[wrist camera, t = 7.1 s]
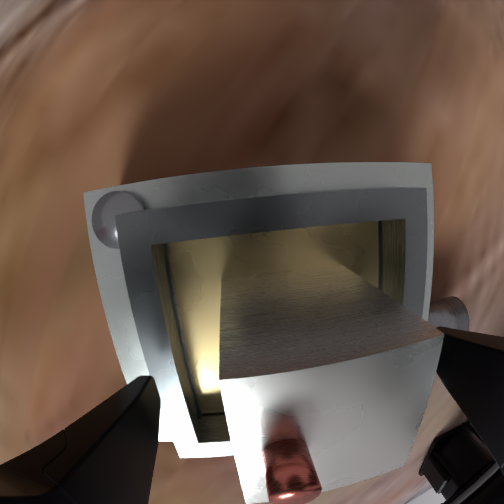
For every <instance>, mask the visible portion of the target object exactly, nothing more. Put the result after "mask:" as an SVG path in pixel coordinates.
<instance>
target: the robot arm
mask: <svg viewBox="0 0 504 504" xmlns="http://www.w3.org/2000/svg"><path fill="white" fill-rule="evenodd" d="M436 328H437V329H438V330H440V331H441V332H442V333H444V338H443V343H442V348H441V353H440V357H439V362H438V366H437V370H436V372H437V374H438V376H439V377H440V379H441V381H442V382H443V384H444V386H445V387H446V389H447V390H448V392H449V393H450V394H451V396H452V397H453V398H454V400H455V401H456V403H457V404H458V405H459V407H460V408H461V410H462V411H463V413H464V414H465V415H466V417H467V418H468V420H469V421H468V422H466V423H465V424H463V425H461V426H459V427H457V428H456V429H454V430H452V431H450V432H448V433H446V434H444V435H442V436H440V437H438V438H436V439H435V440H434V441H433V443H432V445H431V448H430V450H429V452H428V454H427V457H426V459H425V461H424V463H423V465H422V467H421V469H420V471H419V475H420V476H422V475H425V476H426V478H427V479H428V481H429V482H430V484H431V485H432V487H433V488H434V490H435V491H436V493H438V494H439V493H442V495H443V496H444V498H445V499H446V501H445V502H444V503H441V504H504V337H500V336H494V335H487V334H482V333H476V332H470V331H464V330H459V329H453V328H448V327H442V326H439V327H436ZM160 410H161V398H160V395H159V392H158V388H157V385H156V382H155V379H154V377H153V376H151V375H141V376H138V377H137V378H136V379H134V380H133V381H131V382H130V383H129V384H127V385H126V386H124V387H123V388H122V389H120V390H119V391H118V392H116V393H115V394H113V395H112V396H111V397H109V398H108V399H106V400H105V401H103V402H102V403H101V404H99V405H98V406H96V407H95V408H93V409H92V410H91V411H89V412H88V413H86V414H85V415H83V416H82V417H81V418H79V419H78V420H76V421H75V422H73V423H72V424H70V425H69V426H67V427H66V428H65V430H61V431H60V432H59V433H57V434H56V435H54V436H53V437H51V438H49V439H48V440H46V441H45V442H43V443H41V444H40V445H38V446H36V447H34V448H32V449H31V450H29V451H27V452H25V453H23V454H21V455H19V456H17V457H15V458H13V459H11V460H9V461H7V462H5V463H3V464H1V465H0V504H148V501H149V495H150V489H151V482H152V477H153V471H154V465H155V460H156V454H157V448H158V441H159V425H160Z"/></svg>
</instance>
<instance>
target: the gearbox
mask: <svg viewBox="0 0 504 504" xmlns="http://www.w3.org/2000/svg"><path fill="white" fill-rule="evenodd" d="M83 194H84V203H85V212H86V219H87V226H88V233H89V239H90V246H91V251H92V257H93V262H94V267H95V272H96V277H97V282H98V286H99V291H100V295H101V299H102V303H103V307H104V311H105V315H106V319H107V322H108V326H109V330H110V333H111V336H112V340H113V343H114V346H115V350H116V353H117V356H118V359H119V362H120V365H121V368H122V371H123V374H124V377H125V380H126V382H127V384H129V383H130V382H131V381H133V380H134V379H136V378H137V377H138V376H141V375H151V376H153V377H154V379H155V382H156V385H157V388H158V392H159V395H160V398H161V410H160V425H159V441H173V442H174V444H175V447H176V449H177V452H178V454H179V456H180V458H198V457H219V456H232V455H234V452H233V447H232V443H231V438H230V433H229V429H228V424H227V419H226V414H225V409H224V404H223V399H222V394H221V388H220V383H219V344H220V302H221V279H230V278H240V277H249V276H258V275H267V274H276V273H284V272H293V271H301V270H310V269H318V268H326V267H334V266H342V265H343V266H344V267H346V268H347V269H349V270H351V271H352V272H354V273H355V274H357V275H358V276H360V277H361V278H363V279H364V280H366V281H367V282H369V283H370V284H372V285H374V286H375V287H377V288H378V289H380V290H381V291H383V292H384V293H386V294H387V295H389V296H390V297H392V298H393V299H395V300H396V301H397V302H399V303H400V304H402V305H403V306H405V307H406V308H408V309H409V310H411V311H412V312H414V313H415V314H417V315H418V316H419V317H421V318H422V319H424V320H425V321H427V322H428V323H430V324H431V325H432V326H434V327H435V328H436V327H439V326H442V327H448V328H453V329H459V330H464V331H469V315H468V311H467V309H466V307H465V305H464V303H463V302H462V301H461V300H460V299H459V298H457V297H454V296H451V297H447V298H444V299H440V300H436V301H433V302H430V297H431V287H432V274H433V255H434V199H433V181H432V168H431V163H407V162H340V163H312V164H293V165H277V166H264V167H252V168H241V169H231V170H222V171H213V172H204V173H196V174H189V175H181V176H174V177H167V178H161V179H154V180H148V181H142V182H136V183H130V184H125V185H119V186H114V187H109V188H104V189H99V190H94V191H89V192H84V193H83Z"/></svg>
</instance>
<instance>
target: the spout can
mask: <svg viewBox="0 0 504 504" xmlns="http://www.w3.org/2000/svg"><path fill="white" fill-rule="evenodd" d="M443 338H444V333H442V332H441V331H440V330H438V329H437V328H435V327H434V326H432V325H431V324H430V323H428V322H427V321H425V320H424V319H422V318H421V317H419V316H418V315H417V314H415V313H414V312H412V311H411V310H409V309H408V308H406V307H405V306H403V305H402V304H400V303H399V302H397V301H396V300H395V299H393V298H392V297H390V296H389V295H387V294H386V293H384V292H383V291H381V290H380V289H378V288H377V287H375V286H374V285H372V284H370V283H369V282H367V281H366V280H364V279H363V278H361V277H360V276H358V275H357V274H355V273H354V272H352V271H351V270H349V269H347V268H346V267H344V266H343V265H342V266H334V267H326V268H318V269H310V270H301V271H293V272H284V273H276V274H267V275H258V276H249V277H240V278H230V279H221V302H220V344H219V383H220V388H221V394H222V399H223V404H224V409H225V414H226V419H227V424H228V429H229V433H230V438H231V443H232V447H233V452H234V456H235V461H236V465H237V469H238V473H239V478H240V482H241V486H242V490H243V494H244V498H245V502H246V504H253V503H262V502H270V503H271V504H305V503H307V502H309V501H311V500H313V499H315V498H316V497H317V496H319V494H320V493H321V492H324V491H328V490H332V489H336V488H339V487H343V486H347V485H350V484H353V483H357V482H360V481H363V480H366V479H369V478H372V477H375V476H378V475H381V474H384V473H386V472H389V471H392V470H394V469H397V468H399V467H402V466H404V465H405V462H406V460H407V458H408V455H409V453H410V450H411V448H412V445H413V443H414V440H415V438H416V435H417V432H418V429H419V427H420V424H421V421H422V418H423V415H424V412H425V409H426V406H427V402H428V399H429V396H430V392H431V389H432V385H433V382H434V378H435V374H436V370H437V366H438V362H439V357H440V353H441V348H442V343H443Z"/></svg>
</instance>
